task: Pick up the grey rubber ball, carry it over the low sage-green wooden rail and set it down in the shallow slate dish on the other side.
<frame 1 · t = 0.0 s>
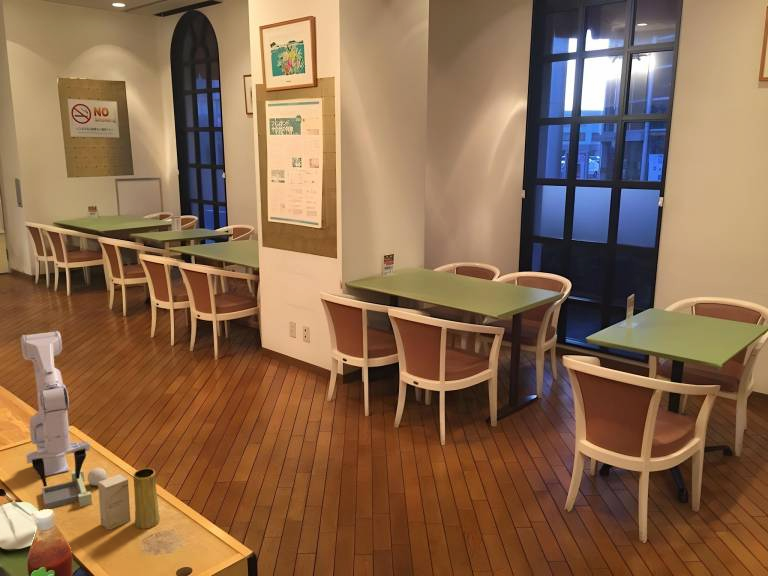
hand: (61, 480, 166), 10 cm above the table, fingers open, 7 cm apart
vase: (147, 522, 167), on the table
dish: (62, 496, 177), on the table
rail: (81, 491, 179), on the table
skincare box: (116, 523, 166), on the table
ball: (97, 476, 183), point 2 cm above the table
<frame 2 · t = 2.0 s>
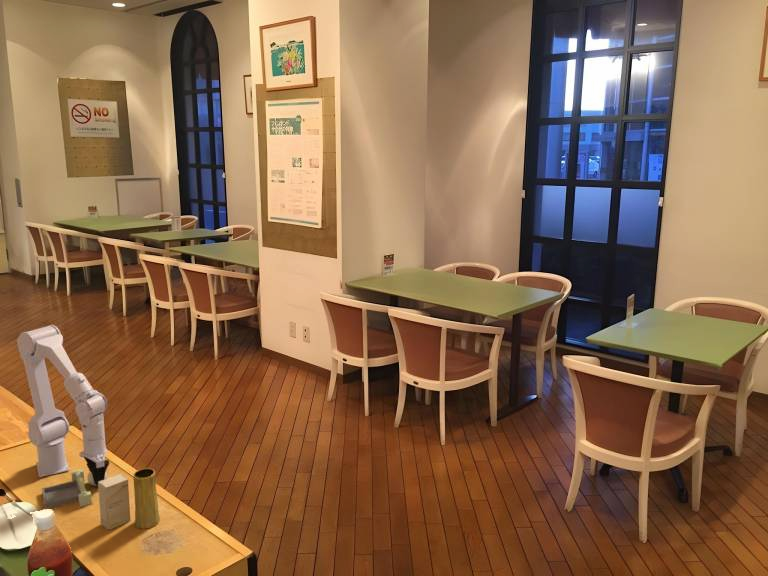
hand: (97, 479, 183), 2 cm above the table, fingers closed on ball, 5 cm apart
ball: (97, 476, 183), point 2 cm above the table, touching gripper
everything else where it was.
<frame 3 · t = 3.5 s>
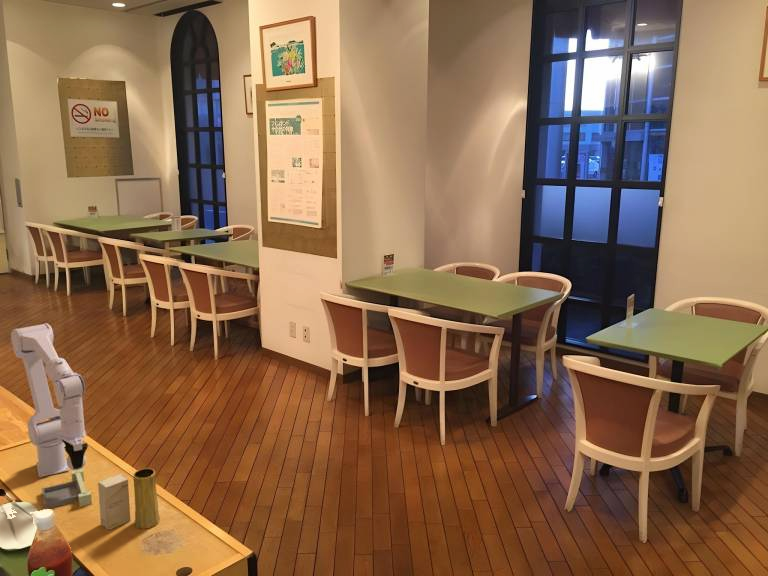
hand: (76, 463, 178), 9 cm above the table, fingers closed on ball, 5 cm apart
ball: (76, 460, 178), point 9 cm above the table, touching gripper
everything else where it was.
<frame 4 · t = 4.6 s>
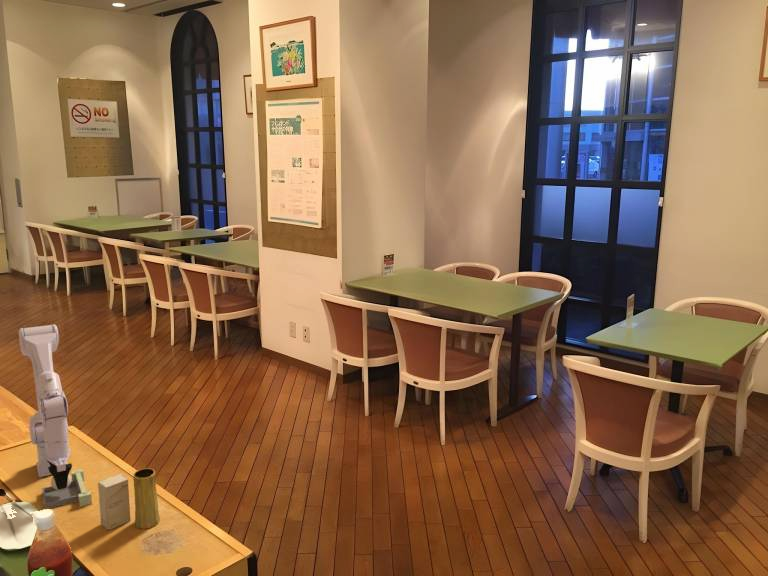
hand: (60, 483, 176), 4 cm above the table, fingers closed on ball, 5 cm apart
ball: (61, 481, 176), point 5 cm above the table, touching gripper
everything else where it was.
when the fingers open (3 cm above the table, at t = 5.3 s): ball stays where it is, resting on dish.
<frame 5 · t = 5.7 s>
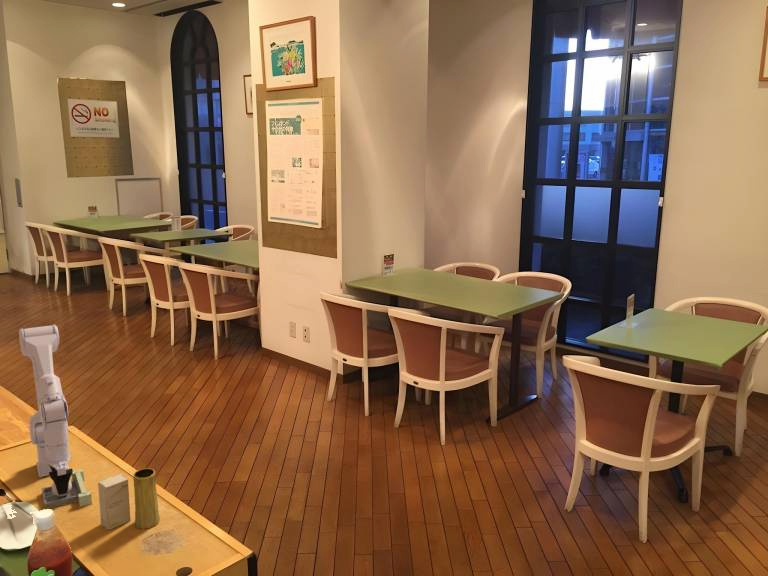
hand: (61, 487, 176), 3 cm above the table, fingers open, 7 cm apart
ball: (61, 487, 176), point 3 cm above the table, touching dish
everything else where it was.
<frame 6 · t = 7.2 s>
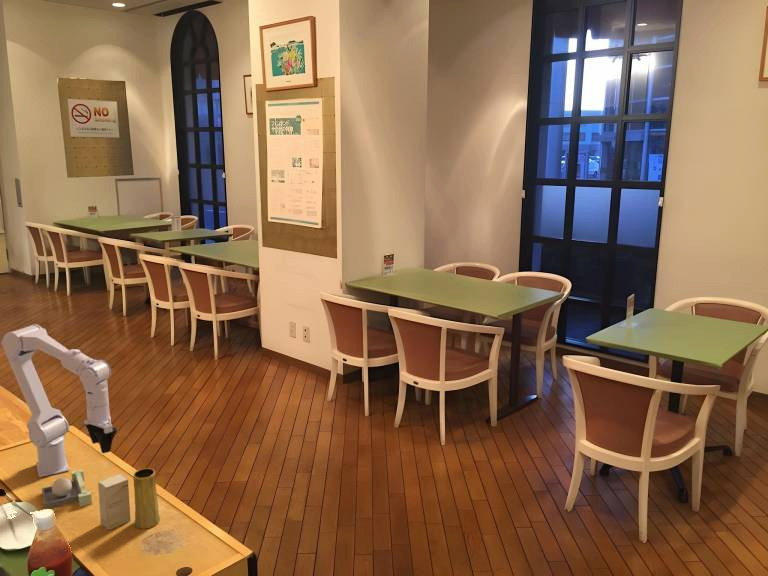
hand: (101, 447, 184), 10 cm above the table, fingers open, 7 cm apart
nothing on the table moved.
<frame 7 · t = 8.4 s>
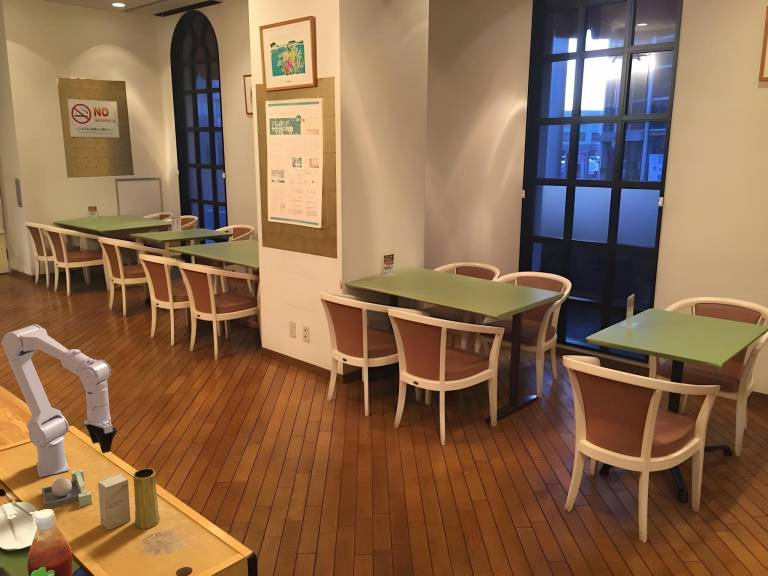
hand: (101, 447, 184), 10 cm above the table, fingers open, 7 cm apart
nothing on the table moved.
at the end: ball 0.2 cm from the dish (horizontally); ball point 2.9 cm above the table; the gripper is holding nothing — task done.
